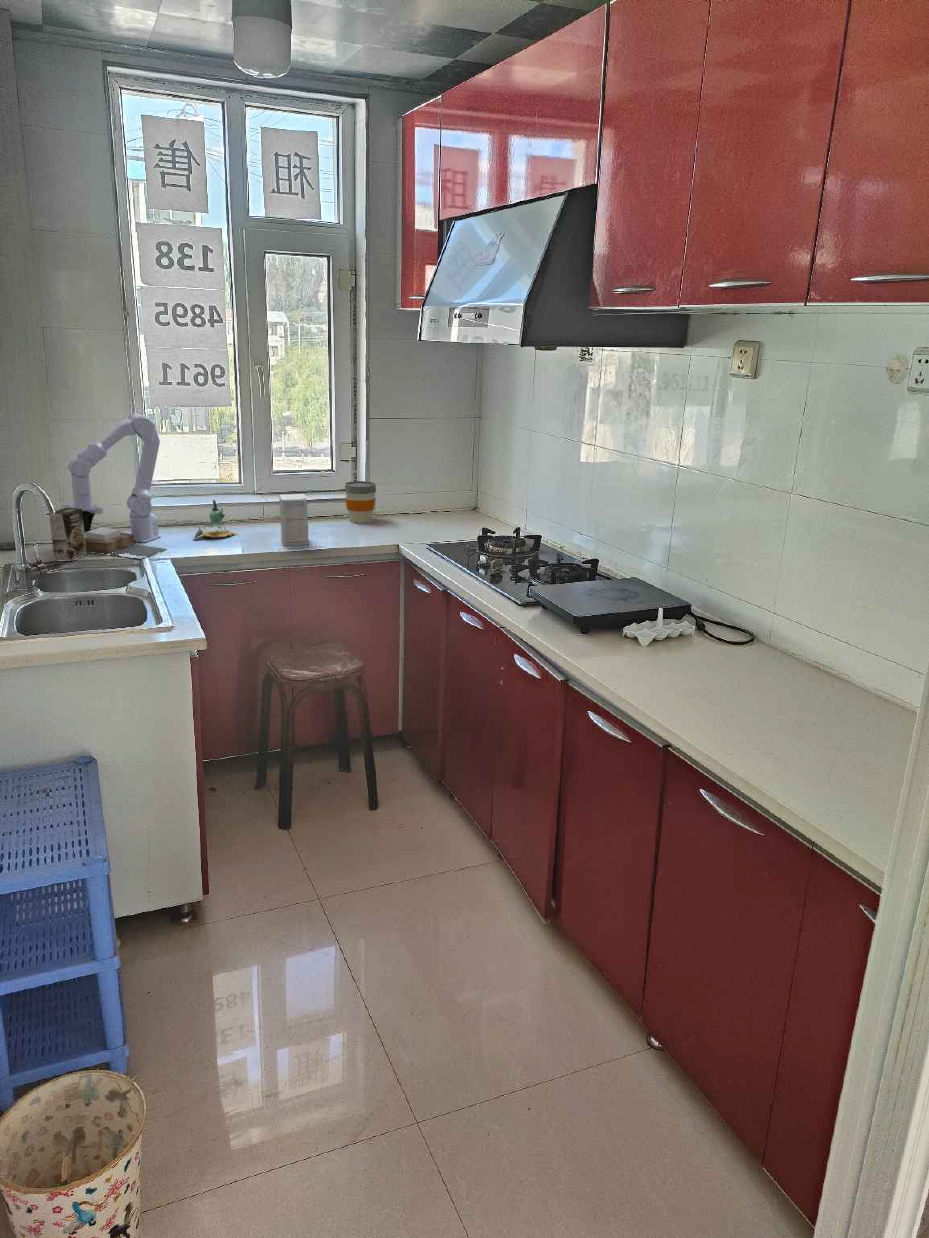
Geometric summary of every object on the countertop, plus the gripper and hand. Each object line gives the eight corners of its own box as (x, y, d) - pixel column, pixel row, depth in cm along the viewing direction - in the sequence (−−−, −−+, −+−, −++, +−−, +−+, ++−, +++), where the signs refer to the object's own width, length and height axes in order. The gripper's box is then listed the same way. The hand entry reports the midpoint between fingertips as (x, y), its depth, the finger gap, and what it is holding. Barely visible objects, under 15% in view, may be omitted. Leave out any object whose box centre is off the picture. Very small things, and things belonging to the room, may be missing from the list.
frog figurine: (186, 536, 326) (187, 496, 322) (233, 536, 336) (235, 498, 332) (194, 542, 318) (195, 501, 314) (242, 542, 328) (244, 502, 324)
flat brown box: (106, 541, 315) (105, 530, 313) (134, 545, 311) (133, 534, 310) (78, 550, 302) (77, 539, 301) (107, 555, 298) (106, 543, 297)
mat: (135, 545, 311) (135, 544, 311) (166, 550, 307) (166, 548, 307) (108, 555, 298) (108, 554, 298) (140, 560, 295) (140, 558, 294)
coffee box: (71, 562, 289) (65, 514, 283) (53, 561, 290) (47, 512, 285) (87, 555, 297) (82, 508, 292) (70, 553, 298) (65, 506, 293)
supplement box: (306, 538, 329) (305, 493, 323) (309, 544, 320) (308, 499, 315) (280, 539, 326) (278, 494, 320) (282, 545, 318) (280, 499, 312)
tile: (101, 532, 310) (101, 527, 310) (120, 535, 308) (120, 529, 307) (85, 537, 303) (85, 532, 302) (105, 540, 301) (104, 534, 300)
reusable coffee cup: (343, 517, 362) (342, 481, 357) (373, 517, 365) (373, 480, 360) (346, 524, 351) (346, 487, 346) (378, 524, 353) (378, 486, 348)
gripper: (56, 493, 301) (61, 532, 306) (91, 497, 297) (95, 537, 302) (71, 490, 308) (75, 528, 312) (105, 494, 303) (109, 532, 308)
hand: (86, 532), depth 307 cm, fingers closed
